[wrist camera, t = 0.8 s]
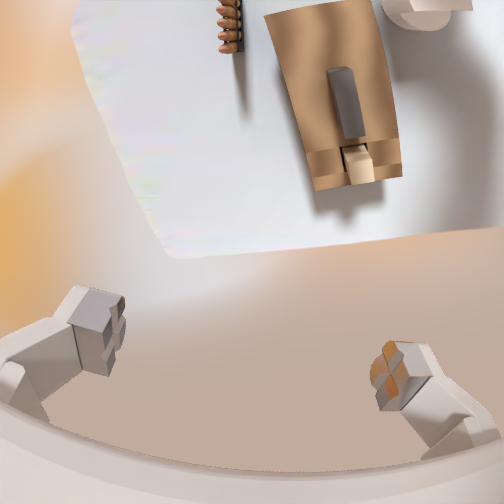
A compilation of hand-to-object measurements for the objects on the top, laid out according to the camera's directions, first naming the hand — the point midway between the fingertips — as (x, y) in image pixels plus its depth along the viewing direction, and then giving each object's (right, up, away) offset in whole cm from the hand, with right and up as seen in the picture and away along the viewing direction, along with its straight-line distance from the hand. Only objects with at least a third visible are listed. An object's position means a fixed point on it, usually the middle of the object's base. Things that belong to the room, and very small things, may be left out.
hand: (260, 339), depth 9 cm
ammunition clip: (-2, +36, +27) cm, 46 cm away
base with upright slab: (+23, +39, +21) cm, 50 cm away
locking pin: (+14, +18, +34) cm, 41 cm away
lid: (+11, +22, +26) cm, 36 cm away
